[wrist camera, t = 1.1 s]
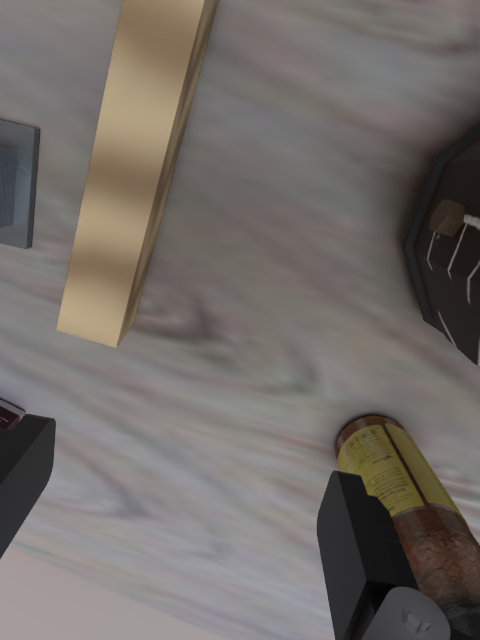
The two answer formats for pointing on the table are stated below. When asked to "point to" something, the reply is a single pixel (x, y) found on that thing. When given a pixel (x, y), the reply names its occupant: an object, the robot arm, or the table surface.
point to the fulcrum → (17, 182)
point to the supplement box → (9, 415)
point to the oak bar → (133, 162)
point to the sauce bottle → (418, 516)
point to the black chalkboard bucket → (449, 245)
